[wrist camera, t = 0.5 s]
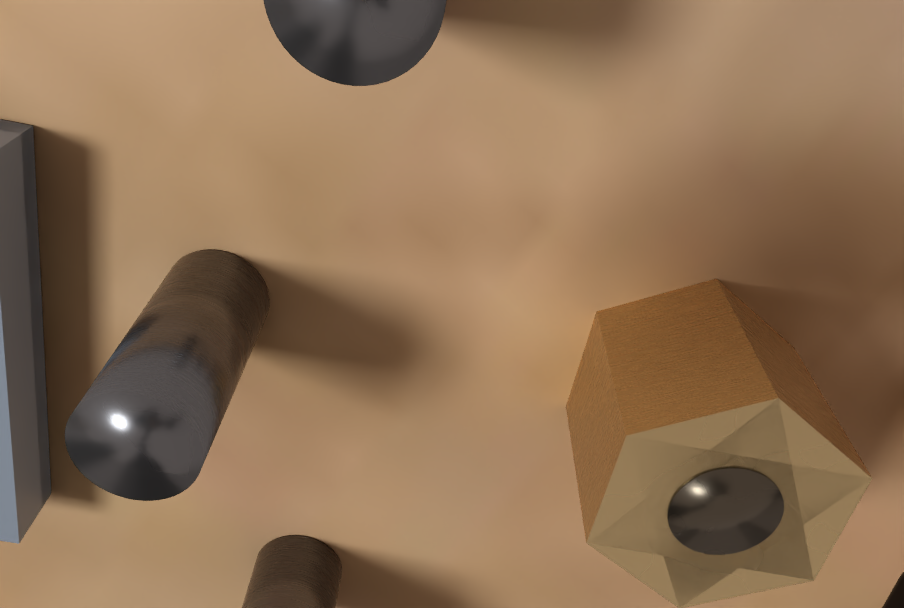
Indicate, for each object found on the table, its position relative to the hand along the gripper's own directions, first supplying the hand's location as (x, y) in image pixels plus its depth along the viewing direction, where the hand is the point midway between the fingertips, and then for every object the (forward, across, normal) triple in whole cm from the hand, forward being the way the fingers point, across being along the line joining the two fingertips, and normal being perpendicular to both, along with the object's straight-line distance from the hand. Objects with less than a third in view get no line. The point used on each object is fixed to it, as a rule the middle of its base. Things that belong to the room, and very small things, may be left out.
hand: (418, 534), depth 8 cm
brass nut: (+13, -7, +6) cm, 16 cm away
